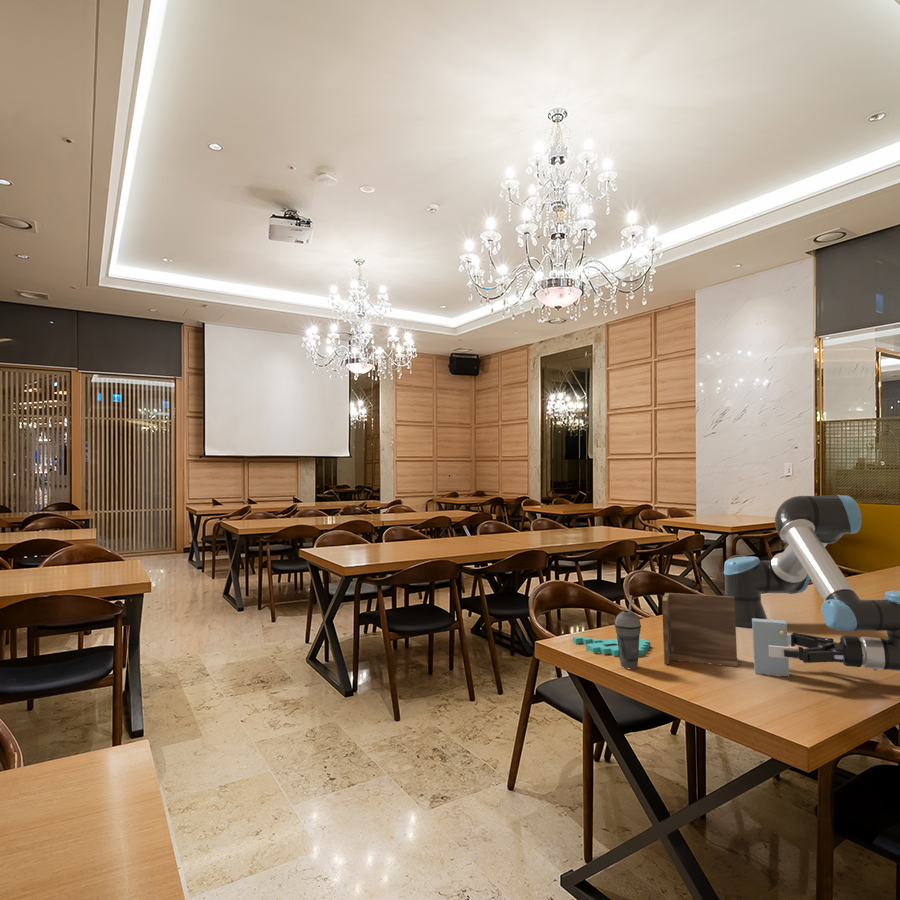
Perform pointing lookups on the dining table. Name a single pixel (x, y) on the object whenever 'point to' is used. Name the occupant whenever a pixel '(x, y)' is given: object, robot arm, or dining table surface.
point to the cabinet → (699, 628)
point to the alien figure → (609, 645)
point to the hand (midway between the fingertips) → (766, 644)
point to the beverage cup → (628, 637)
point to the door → (764, 636)
